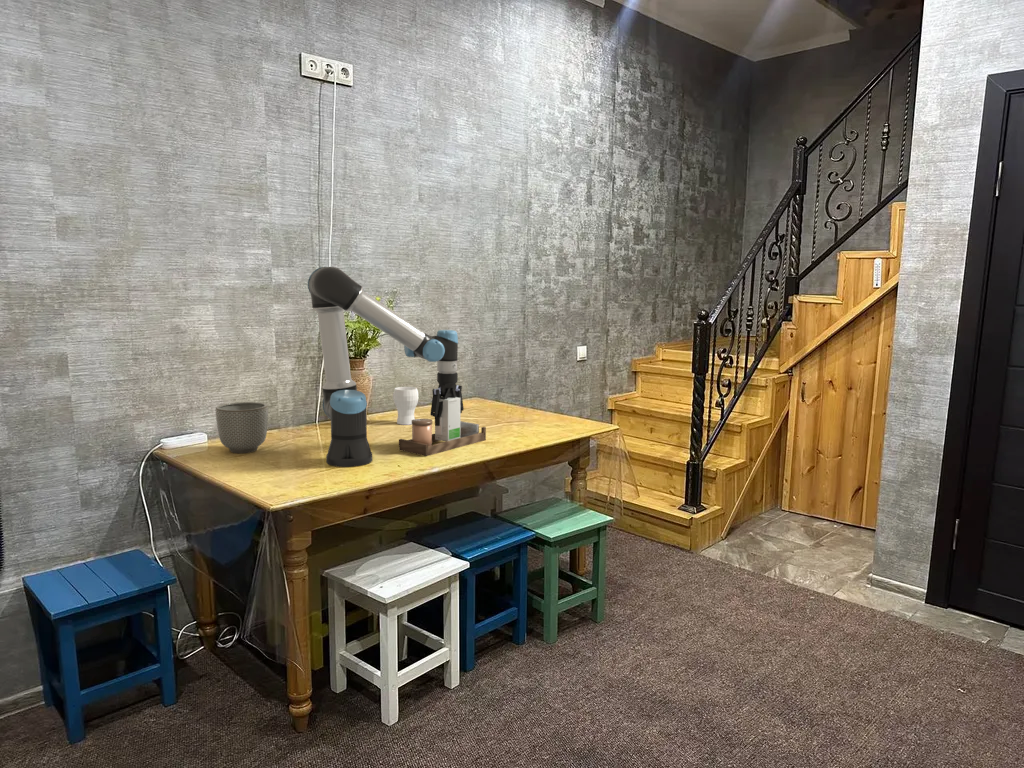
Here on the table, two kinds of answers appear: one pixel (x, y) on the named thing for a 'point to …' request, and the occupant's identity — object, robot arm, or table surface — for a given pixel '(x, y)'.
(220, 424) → the planter
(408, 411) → the cup
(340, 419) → the robot arm
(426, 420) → the jar
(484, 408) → the table surface
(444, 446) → the frame
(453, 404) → the skincare box
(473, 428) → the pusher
